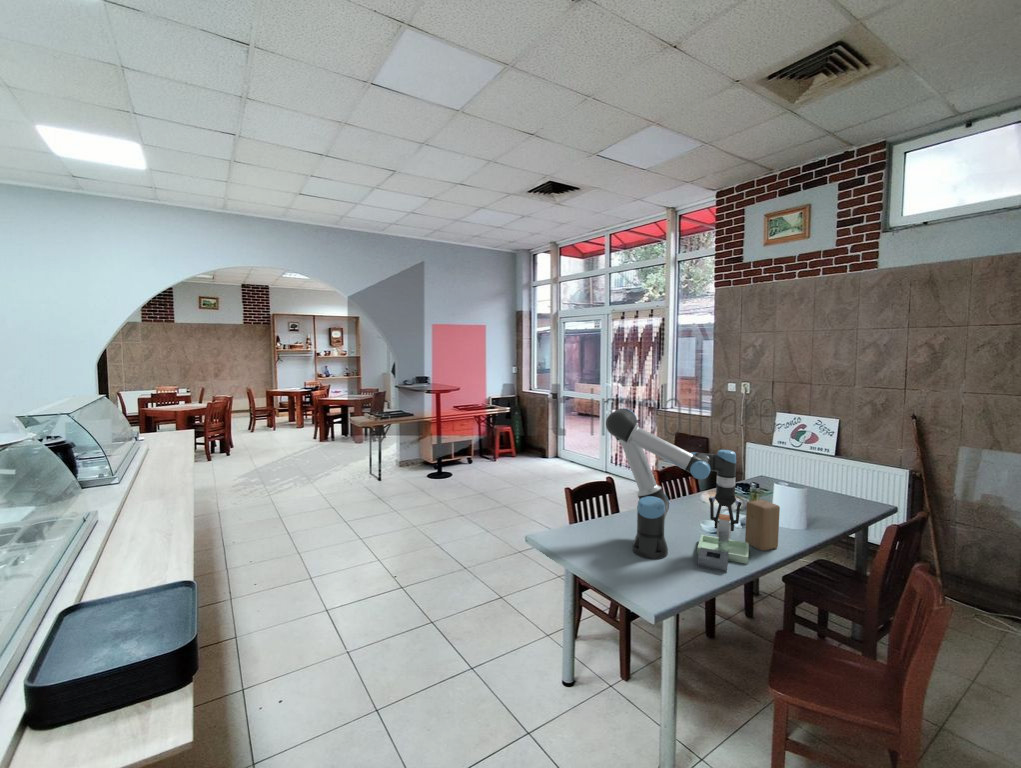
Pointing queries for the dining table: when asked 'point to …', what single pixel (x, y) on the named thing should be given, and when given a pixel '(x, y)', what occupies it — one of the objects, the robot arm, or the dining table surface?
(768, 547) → the wooden block
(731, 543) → the tray
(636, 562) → the dining table surface
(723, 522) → the pin
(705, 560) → the block
